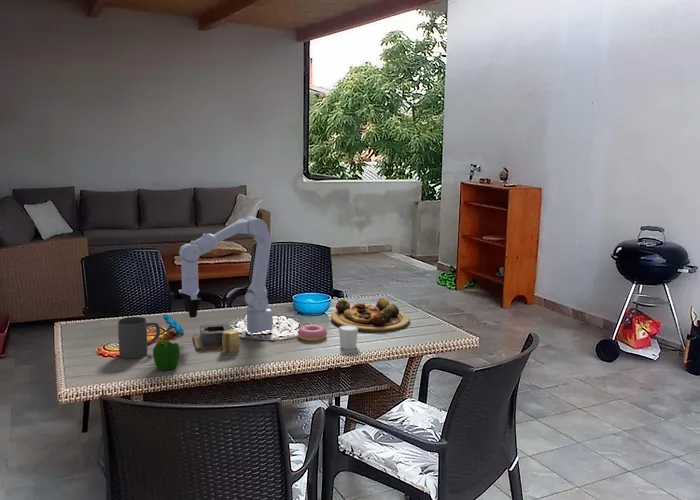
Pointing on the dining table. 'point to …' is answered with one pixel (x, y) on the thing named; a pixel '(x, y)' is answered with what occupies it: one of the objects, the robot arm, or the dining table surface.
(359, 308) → the wooden plate with food
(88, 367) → the dining table surface
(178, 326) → the gear
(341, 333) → the shot glass
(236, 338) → the keyed shaft
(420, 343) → the dining table surface
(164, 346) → the bell pepper
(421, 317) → the dining table surface
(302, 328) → the doughnut
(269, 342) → the dining table surface
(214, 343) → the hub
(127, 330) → the mug
